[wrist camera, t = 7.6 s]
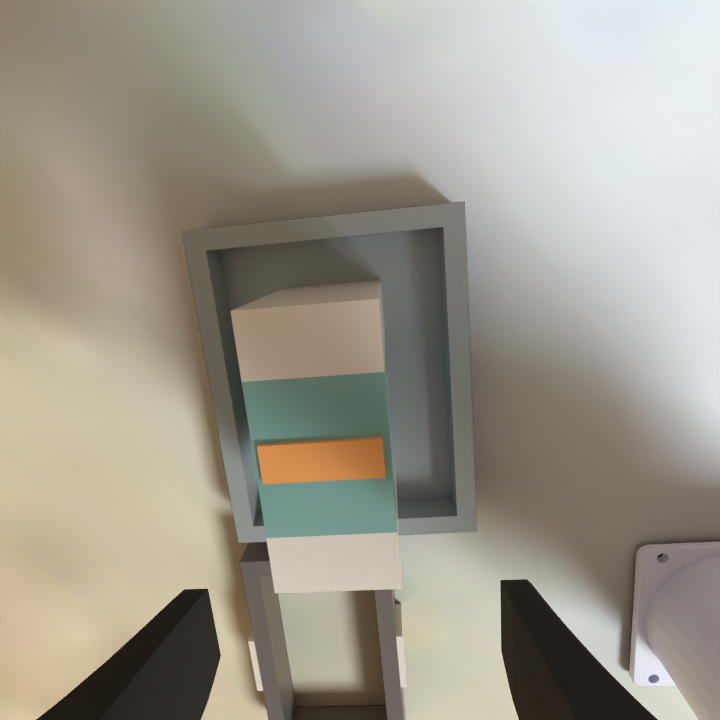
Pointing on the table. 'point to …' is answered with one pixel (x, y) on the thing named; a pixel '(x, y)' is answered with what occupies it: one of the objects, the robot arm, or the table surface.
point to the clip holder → (274, 659)
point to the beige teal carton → (322, 435)
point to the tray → (402, 332)
